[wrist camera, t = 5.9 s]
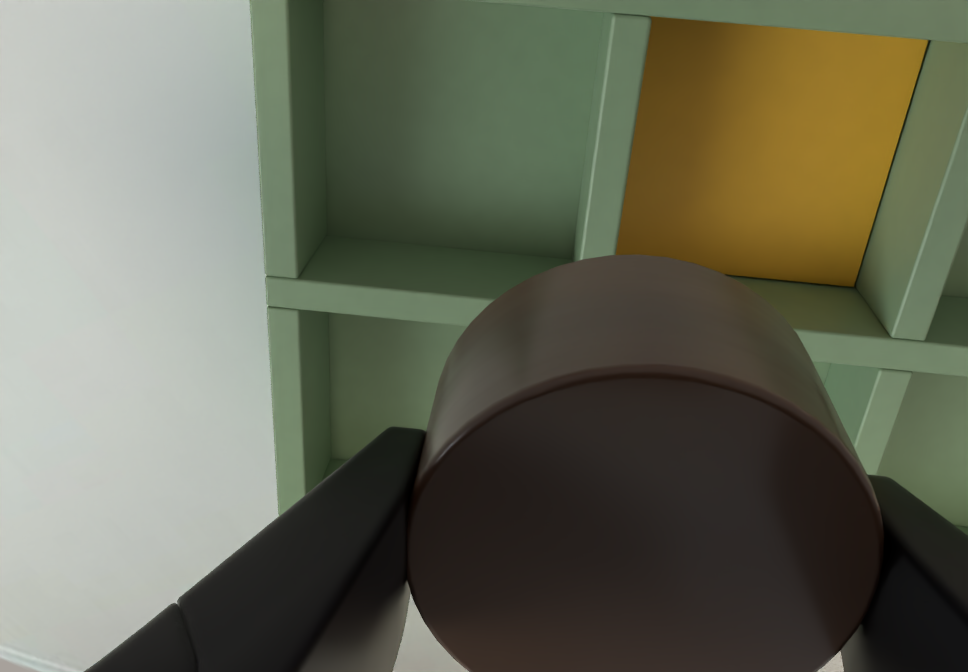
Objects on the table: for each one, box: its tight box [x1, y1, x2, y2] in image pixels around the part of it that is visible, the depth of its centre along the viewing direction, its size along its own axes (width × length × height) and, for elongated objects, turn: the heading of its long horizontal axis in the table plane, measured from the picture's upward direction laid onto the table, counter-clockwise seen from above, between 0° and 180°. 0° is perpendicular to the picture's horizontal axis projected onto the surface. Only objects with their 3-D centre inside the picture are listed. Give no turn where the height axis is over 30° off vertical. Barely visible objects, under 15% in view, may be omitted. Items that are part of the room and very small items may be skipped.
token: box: [406, 254, 884, 672], centre depth 9 cm, size 4×4×2 cm
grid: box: [250, 0, 968, 535], centre depth 19 cm, size 13×20×3 cm
